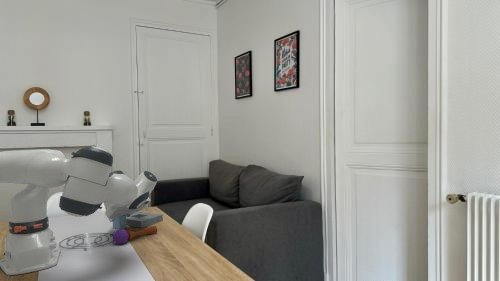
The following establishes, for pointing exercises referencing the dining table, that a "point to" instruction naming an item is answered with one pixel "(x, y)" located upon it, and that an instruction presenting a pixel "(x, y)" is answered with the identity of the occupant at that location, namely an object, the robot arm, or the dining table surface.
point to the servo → (119, 222)
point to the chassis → (143, 219)
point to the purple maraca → (130, 234)
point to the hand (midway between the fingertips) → (119, 218)
